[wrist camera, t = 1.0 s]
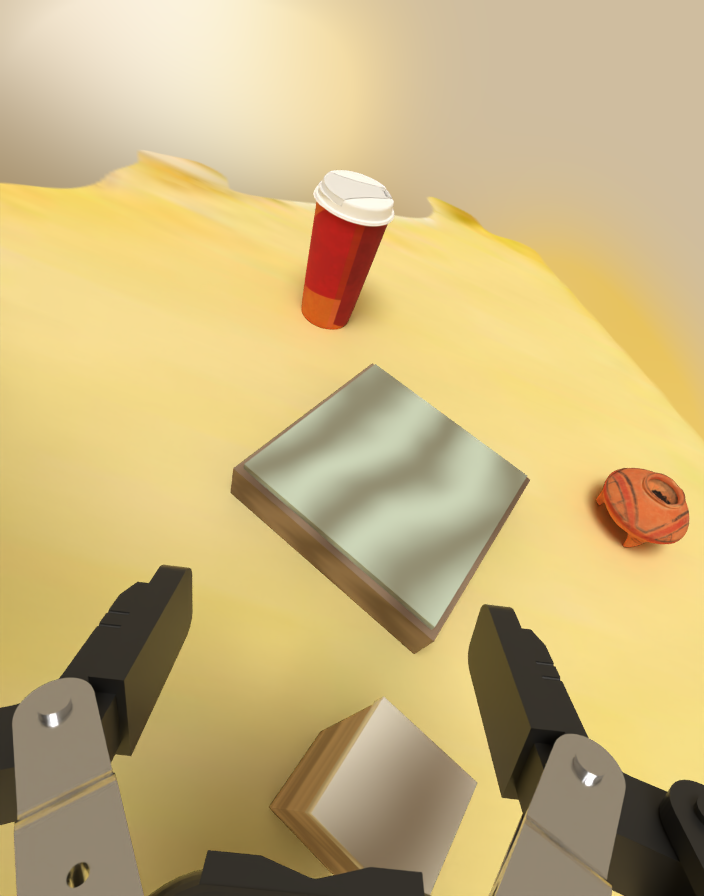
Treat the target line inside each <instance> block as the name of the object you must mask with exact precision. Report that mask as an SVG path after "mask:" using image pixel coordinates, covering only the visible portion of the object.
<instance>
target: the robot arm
mask: <svg viewBox="0 0 704 896" xmlns="http://www.w3.org/2000/svg"><path fill="white" fill-rule="evenodd" d="M191 619H192V571H191V569H190V568H185V567H177V566H169V565H162V566H160V567H159V569H158V570H157V572H156V573H155V575H154V576H153V578H152V579H151V581H150V582H149V583H143V582H137V583H135V584H134V585H132V586H131V587H130V588H128V589H127V590H125V591H124V592H123V593H121V594H120V595H119V596H118V598H117V599H116V601H115V602H114V603H113V605H112V606H111V607H110V609H109V612H108V613H106V614H105V616H104V617H103V619H102V620H101V621H100V623H99V626H97V627H96V628H95V630H94V631H93V633H92V634H91V635H90V637H89V638H88V639H87V641H86V642H85V644H84V645H83V646H82V648H81V649H80V651H79V652H78V653H77V655H76V656H75V658H74V659H73V660H72V662H71V663H70V665H69V666H68V667H67V669H66V670H65V671H64V673H63V674H62V676H61V677H60V678H59V679H57V680H54V681H51V682H48V683H46V684H44V685H42V686H40V687H38V688H37V689H35V690H34V691H32V692H31V693H30V694H29V695H28V696H26V697H25V699H24V700H23V701H22V702H21V703H19V704H16V705H12V706H8V707H2V708H0V825H2V824H7V823H11V822H15V824H14V846H15V865H16V885H17V896H144V894H143V890H142V885H141V881H140V877H139V873H138V868H137V864H136V860H135V855H134V851H133V847H132V843H131V838H130V834H129V830H128V825H127V821H126V817H125V813H124V808H123V804H122V800H121V795H120V791H119V787H118V783H117V779H116V776H115V773H113V771H112V767H111V761H112V759H113V757H114V755H115V754H118V755H127V756H131V755H132V753H133V751H134V749H135V746H136V744H137V742H138V740H139V738H140V736H141V733H142V731H143V729H144V727H145V725H146V723H147V721H148V718H149V716H150V714H151V712H152V710H153V708H154V706H155V703H156V701H157V699H158V697H159V695H160V693H161V690H162V688H163V686H164V684H165V682H166V680H167V678H168V675H169V673H170V671H171V669H172V667H173V665H174V662H175V660H176V658H177V656H178V654H179V652H180V650H181V647H182V645H183V643H184V641H185V639H186V637H187V634H188V631H189V628H190V624H191ZM468 664H469V671H470V675H471V678H472V682H473V686H474V690H475V694H476V698H477V702H478V706H479V710H480V714H481V718H482V722H483V726H484V730H485V733H486V737H487V741H488V745H489V749H490V753H491V757H492V761H493V765H494V769H495V773H496V777H497V781H498V785H499V788H500V792H501V796H502V798H509V799H518V800H519V802H520V805H521V809H522V812H523V814H522V816H521V818H520V820H519V823H518V825H517V828H516V830H515V833H514V835H513V838H512V840H511V842H510V845H509V847H508V850H507V852H506V855H505V857H504V860H503V862H502V865H501V867H500V870H499V872H498V874H497V877H496V879H495V882H494V884H493V887H492V889H491V892H490V894H489V896H611V895H612V890H613V891H615V892H618V893H620V894H622V895H624V896H704V785H702V784H700V783H697V782H694V781H690V780H679V781H677V782H675V783H674V784H673V785H672V786H671V788H670V789H669V791H668V792H667V791H664V790H662V789H659V788H657V787H655V786H652V785H650V784H647V783H645V782H643V781H640V780H638V779H636V778H633V777H631V776H629V775H627V774H625V773H623V772H622V771H621V769H620V767H619V765H618V764H617V762H616V761H615V760H614V758H613V757H612V756H611V755H610V754H609V753H608V752H607V751H606V750H605V749H604V748H603V747H602V746H600V745H599V744H597V743H596V742H594V741H593V740H591V739H589V738H588V736H587V734H586V732H585V729H584V727H583V725H582V723H581V721H580V719H579V717H578V714H577V712H576V710H575V708H574V706H573V704H572V702H571V699H570V697H569V695H568V693H567V691H566V689H565V687H564V684H563V682H562V681H560V676H559V674H558V671H557V669H556V667H554V665H553V664H554V663H553V661H552V659H551V656H550V654H549V652H548V650H547V648H546V646H545V645H544V643H543V642H542V641H541V640H540V639H539V638H538V637H537V636H536V635H535V634H534V632H533V631H532V630H530V629H522V628H521V626H520V623H519V621H518V619H517V616H516V614H515V612H514V610H513V609H512V608H510V607H503V606H494V605H486V604H484V605H483V606H482V607H481V609H480V612H479V616H478V619H477V622H476V625H475V629H474V632H473V635H472V638H471V642H470V645H469V651H468ZM149 896H431V895H428V894H426V893H424V884H423V874H422V872H415V871H406V870H396V869H386V868H376V867H367V868H363V869H359V870H355V871H350V872H346V873H342V874H337V875H333V876H329V877H324V878H320V879H312V878H309V877H307V876H305V875H303V874H300V873H298V872H296V871H294V870H292V869H289V868H287V867H285V866H283V865H281V864H278V863H276V862H274V861H272V860H270V859H267V858H265V857H263V856H260V855H250V854H240V853H230V852H221V851H211V850H208V852H207V856H206V859H205V863H204V867H203V870H198V871H194V872H191V873H188V874H186V875H183V876H180V877H178V878H176V879H174V880H172V881H170V882H169V883H167V884H165V885H163V886H162V887H160V888H159V889H157V890H156V891H154V892H153V893H152V894H150V895H149Z"/></svg>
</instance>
